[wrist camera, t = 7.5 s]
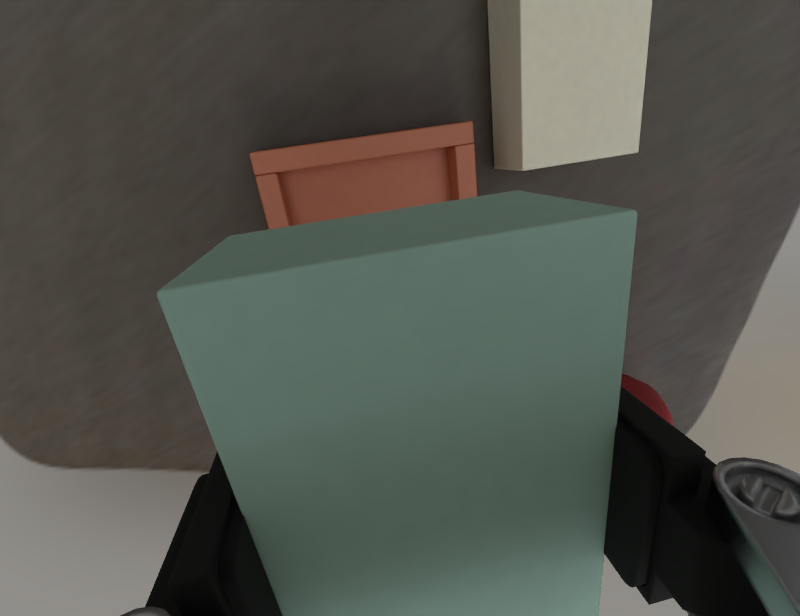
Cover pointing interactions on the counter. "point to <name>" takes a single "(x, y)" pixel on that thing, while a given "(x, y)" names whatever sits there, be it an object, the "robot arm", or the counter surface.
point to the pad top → (566, 79)
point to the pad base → (418, 401)
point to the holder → (366, 174)
